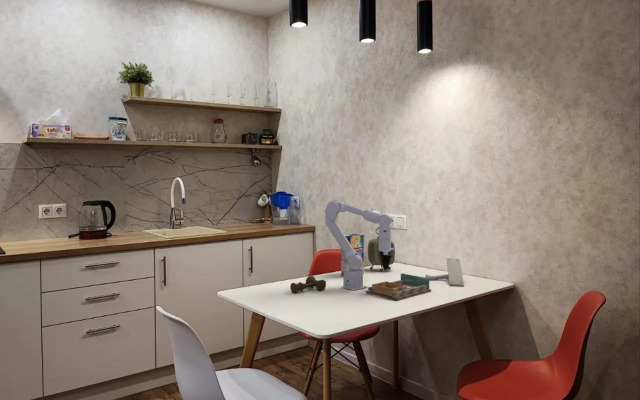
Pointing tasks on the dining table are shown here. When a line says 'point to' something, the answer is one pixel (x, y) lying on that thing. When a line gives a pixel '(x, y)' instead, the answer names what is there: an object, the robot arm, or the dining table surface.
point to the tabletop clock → (374, 253)
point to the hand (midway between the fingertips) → (385, 267)
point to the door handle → (451, 273)
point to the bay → (413, 284)
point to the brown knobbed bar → (308, 285)
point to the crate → (387, 288)
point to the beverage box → (357, 245)
